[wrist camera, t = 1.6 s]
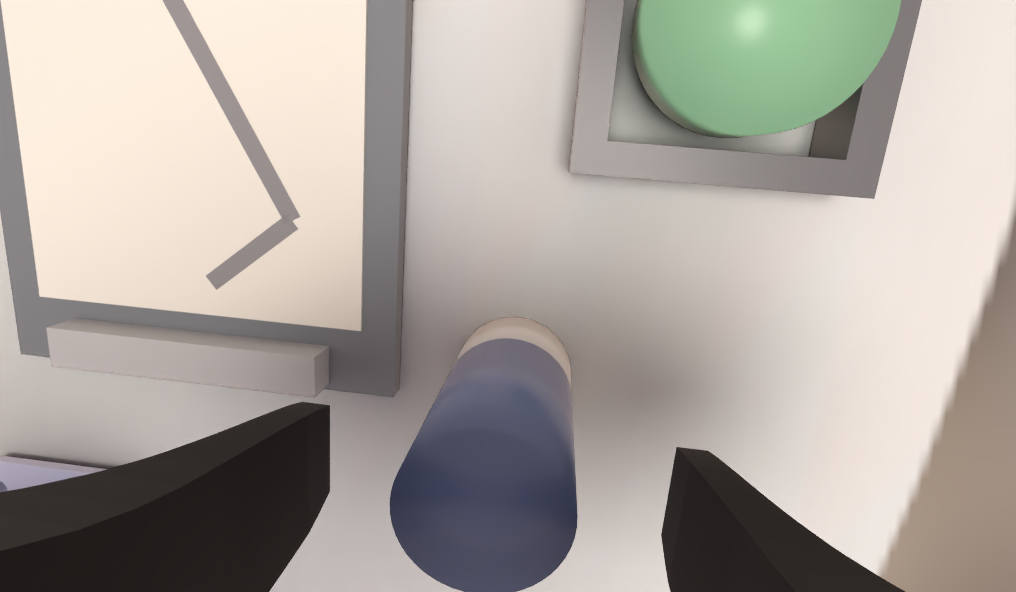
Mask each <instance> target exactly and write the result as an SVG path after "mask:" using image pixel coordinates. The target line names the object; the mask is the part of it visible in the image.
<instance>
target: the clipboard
mask: <svg viewBox="0 0 1016 592" xmlns="http://www.w3.org/2000/svg"><path fill="white" fill-rule="evenodd" d="M412 8H413V0H0V212H1V219H2V226H3V233H4V240H5V247H6V254H7V261H8V268H9V275H10V282H11V289H12V295H13V302H14V309H15V316H16V323H17V330H18V337H19V344H20V351H21V354H26V355H34V356H43V357H50V360H51V366H52V367H60V368H69V369H77V370H86V371H94V372H103V373H111V374H120V375H128V376H137V377H146V378H154V379H163V380H171V381H180V382H188V383H197V384H205V385H214V386H222V387H231V388H240V389H248V390H257V391H265V392H274V393H282V394H291V395H299V396H308V397H315V396H317V395H318V394H319V393H320V392H321V391H322V390H323V389H328V390H336V391H345V392H354V393H362V394H371V395H379V396H388V397H394V396H395V394H396V393H397V392H398V390H399V381H400V352H401V324H402V295H403V266H404V238H405V209H406V180H407V151H408V123H409V94H410V65H411V36H412Z"/></svg>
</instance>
